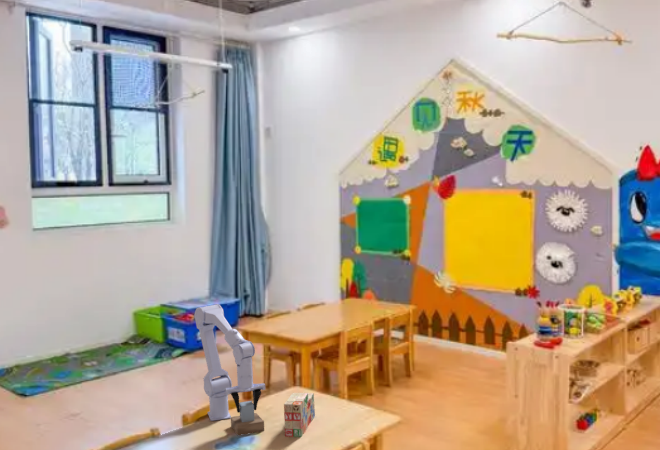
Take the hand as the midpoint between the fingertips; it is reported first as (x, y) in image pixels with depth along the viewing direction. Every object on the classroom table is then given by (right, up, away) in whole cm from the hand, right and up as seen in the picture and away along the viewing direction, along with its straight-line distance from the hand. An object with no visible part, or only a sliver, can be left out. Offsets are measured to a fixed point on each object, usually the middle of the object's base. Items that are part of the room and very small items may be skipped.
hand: (246, 410), depth 252 cm
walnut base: (0, -7, +1) cm, 7 cm away
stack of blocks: (+20, -7, +1) cm, 21 cm away
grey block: (0, -3, 0) cm, 3 cm away
